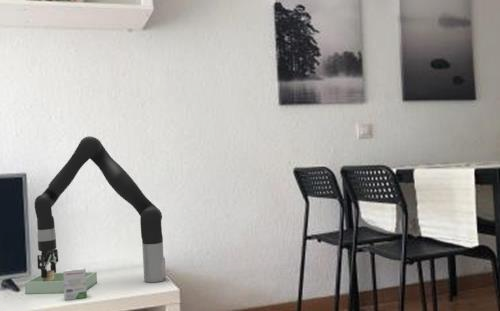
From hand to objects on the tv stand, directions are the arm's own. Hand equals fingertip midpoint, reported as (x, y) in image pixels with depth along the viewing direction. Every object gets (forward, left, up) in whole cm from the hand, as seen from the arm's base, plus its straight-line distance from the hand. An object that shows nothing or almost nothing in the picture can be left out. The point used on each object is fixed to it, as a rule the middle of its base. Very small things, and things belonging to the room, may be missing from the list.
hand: (49, 275), depth 226 cm
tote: (-6, 0, -6) cm, 8 cm away
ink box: (-19, +15, -6) cm, 25 cm away
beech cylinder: (0, 0, -5) cm, 5 cm away
